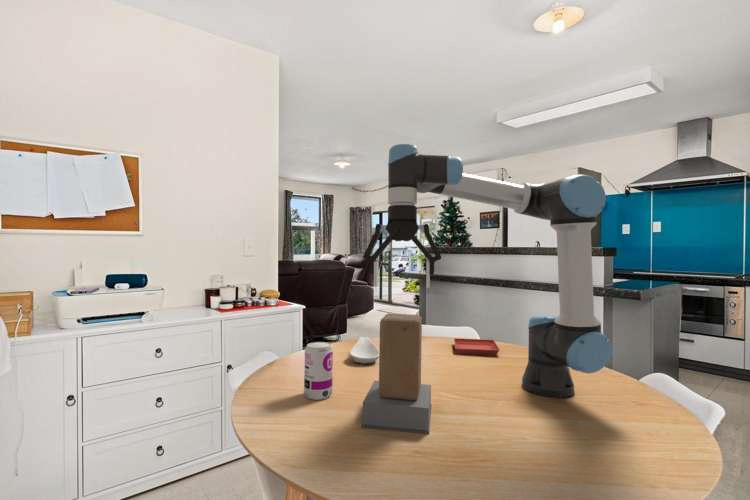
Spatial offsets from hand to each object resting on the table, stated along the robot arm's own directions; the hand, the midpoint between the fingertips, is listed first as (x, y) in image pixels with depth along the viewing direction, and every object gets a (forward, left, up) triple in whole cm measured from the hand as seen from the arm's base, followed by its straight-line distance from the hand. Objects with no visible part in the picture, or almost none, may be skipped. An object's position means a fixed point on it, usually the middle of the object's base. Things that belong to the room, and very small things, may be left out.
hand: (401, 287), depth 101 cm
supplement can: (+25, -9, -34) cm, 43 cm away
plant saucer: (-25, -73, -34) cm, 84 cm away
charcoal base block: (0, 0, -34) cm, 34 cm away
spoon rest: (+20, -51, -34) cm, 65 cm away
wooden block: (0, 0, -28) cm, 28 cm away
